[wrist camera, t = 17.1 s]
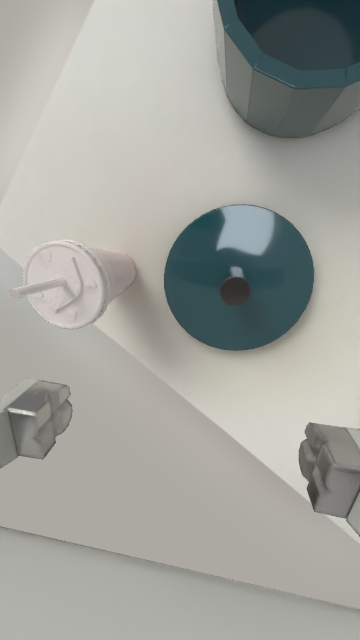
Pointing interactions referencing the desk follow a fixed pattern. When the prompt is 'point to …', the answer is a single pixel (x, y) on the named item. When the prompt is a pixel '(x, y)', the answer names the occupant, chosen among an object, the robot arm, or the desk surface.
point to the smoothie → (73, 281)
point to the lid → (238, 277)
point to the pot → (290, 62)
